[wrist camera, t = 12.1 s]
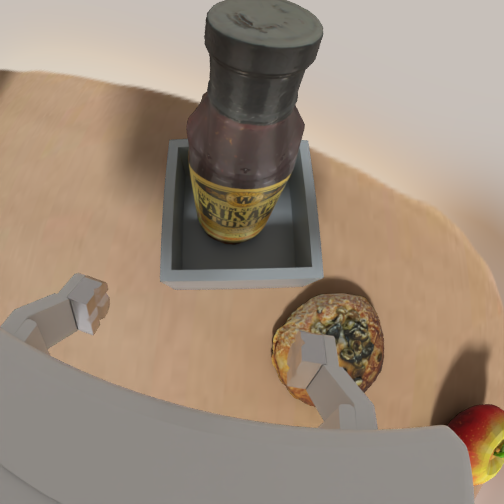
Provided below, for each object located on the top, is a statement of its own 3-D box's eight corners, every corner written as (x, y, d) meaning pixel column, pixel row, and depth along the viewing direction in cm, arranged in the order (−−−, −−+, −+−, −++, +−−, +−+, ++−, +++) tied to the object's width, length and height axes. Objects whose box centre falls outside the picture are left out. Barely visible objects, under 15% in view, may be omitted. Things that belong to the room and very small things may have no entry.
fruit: (421, 423, 24) (479, 447, 14) (479, 385, 25) (534, 392, 16) (420, 486, 22) (465, 516, 12) (477, 447, 23) (523, 463, 14)
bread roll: (361, 413, 24) (379, 425, 19) (255, 387, 25) (253, 397, 21) (391, 310, 27) (413, 303, 22) (291, 279, 28) (296, 266, 24)
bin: (175, 289, 25) (160, 281, 20) (179, 173, 28) (169, 139, 22) (302, 286, 26) (323, 277, 21) (293, 172, 29) (307, 140, 23)
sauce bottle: (198, 249, 25) (132, 74, 6) (199, 184, 27) (167, -13, 7) (272, 247, 26) (371, 81, 7) (268, 183, 27) (326, -8, 8)
